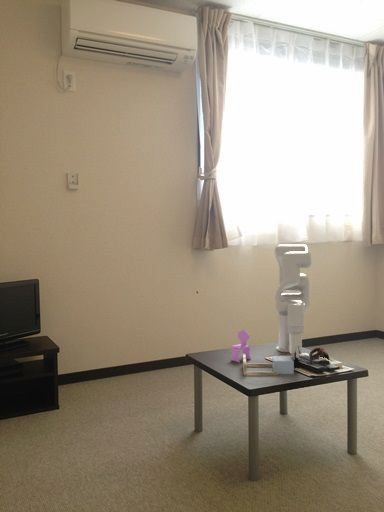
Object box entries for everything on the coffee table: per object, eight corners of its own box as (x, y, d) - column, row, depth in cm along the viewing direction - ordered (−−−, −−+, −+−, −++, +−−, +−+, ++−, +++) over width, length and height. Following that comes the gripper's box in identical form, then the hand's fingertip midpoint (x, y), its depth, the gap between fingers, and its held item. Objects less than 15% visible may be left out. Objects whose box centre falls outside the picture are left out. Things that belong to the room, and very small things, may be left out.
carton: (272, 368, 229) (272, 355, 229) (291, 368, 229) (291, 356, 228) (274, 373, 220) (273, 361, 220) (293, 374, 220) (293, 361, 219)
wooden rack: (243, 365, 234) (242, 353, 234) (274, 366, 233) (274, 353, 232) (243, 375, 218) (243, 362, 218) (277, 375, 217) (277, 363, 217)
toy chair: (229, 359, 246) (229, 331, 245) (241, 356, 251) (241, 328, 250) (240, 363, 239) (239, 333, 238) (252, 360, 244) (252, 331, 244)
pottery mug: (331, 366, 232) (322, 352, 232) (313, 372, 237) (305, 358, 236) (333, 354, 243) (325, 340, 242) (316, 360, 247) (308, 347, 247)
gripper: (285, 326, 231) (286, 363, 232) (289, 332, 216) (289, 372, 217) (301, 326, 230) (301, 363, 231) (306, 332, 215) (306, 372, 216)
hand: (295, 367), depth 224 cm, fingers closed
